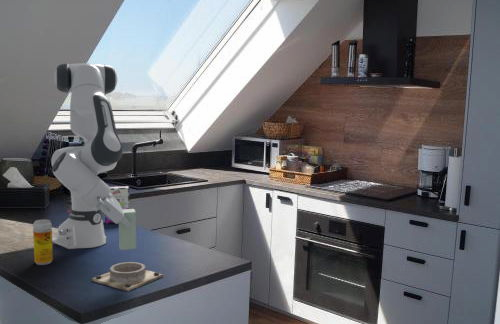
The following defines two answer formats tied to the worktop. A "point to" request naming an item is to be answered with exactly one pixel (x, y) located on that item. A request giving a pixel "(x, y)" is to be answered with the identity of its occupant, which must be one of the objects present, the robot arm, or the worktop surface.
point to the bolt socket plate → (122, 285)
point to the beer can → (42, 242)
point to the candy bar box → (120, 198)
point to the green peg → (128, 231)
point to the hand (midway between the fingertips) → (129, 223)
